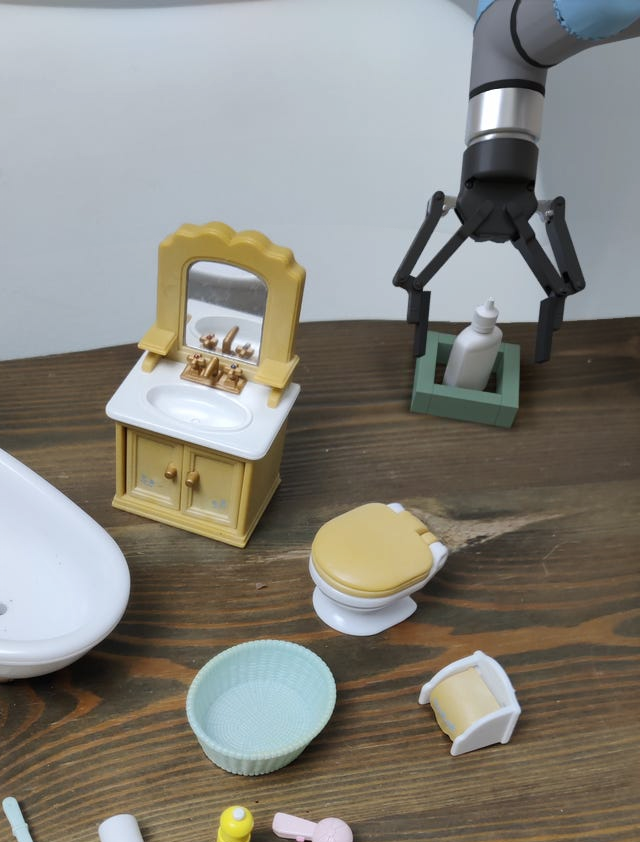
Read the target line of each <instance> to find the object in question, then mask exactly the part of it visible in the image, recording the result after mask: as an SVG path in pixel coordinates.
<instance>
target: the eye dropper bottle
mask: <svg viewBox="0 0 640 842" xmlns="http://www.w3.org/2000/svg"><path fill="white" fill-rule="evenodd" d="M499 314H500V312H499V309H498V308H497V307H495V298H493V297H492V296H489V297H487V299H486V301H485V303H484V304H480V305H478V306H476V308H475V309H474V313H473V317H472V320H471V323H470V325H468V326H467V327H465V328H464V329H463V330H462V331H461V332H460V333H458V335H457V338H456V339H455V342H454V344H453V348H452V351H451V354H450V357H449V361H448V364H447V365H446V368H445V371H444V375H443V379H442V381H441V385H445V386H452V387H458V388H464V389H470V390H477V391H483V392H484V390H485V389H486V388H487V385H488V383H489V380H490V377H491V374H492V372H491V371H492V368H493V365H494V362H495V359H496V356H497V353H498V350H499V347H500V344H501V342H502V340H503V334H504V333H503V331H502V329H501V328H499V327H498V326H497V325H496V324H497V320H498V317H499Z"/></svg>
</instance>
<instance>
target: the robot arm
mask: <svg viewBox="0 0 640 842" xmlns="http://www.w3.org/2000/svg"><path fill="white" fill-rule="evenodd" d="M472 37H473V38H472V53H471V63H470V75H469V89H468V105H467V114H466V122H465V130H464V145H465V147H466V149H465V150H464V151H463V153H462V162H461V174H460V184H459V192H458V194H457V196H455V195H447V194H445V192H444V191H442V190H437V191H435V192H434V193H433V194H432V195H431V196H430V198H429V199H428V201H427V205H426V211H425V217H424V220H423V222H422V223H421V225H420V227H419V229H418V231H417V233H416V235H415V237H414V239H413V240H412V243H411V244H410V246H409V248H408V250H407V252H406V254H405V255H404V257H403V259H402V261H401V263H400V264H399V266H398V268H397V270H396V272H395V273H394V275H393V277H392V280H391V283H392V285H393V286H394V287H395V288H400V289H402V290H404V291H406V293H407V295H408V298H407V307H406V308H407V310H406V322H407V325H415V326H414V337H413V349H412V358H413V359H417V358H420V357H422V356H424V355H425V354H426V343H427V332H428V331H429V319H430V307H431V298H432V290H424V288H425V287H426V286H427V284H428V283H429V282H430V281H431V280H432V278H433V277H435V276H436V274H437V273H438V272H439V270H441V268H442V267H443V266H444V265H445V264H446V263H447V262H448V261H449V259H451V257H452V256H453V255H454V254H455V253H456V252H457V250H459V248H460V247H461V246H462V245H463V244H464V243H465V241H466V240H467V239H468V238H470V239H471V240H473V241H474V243H485V242H492V243H494V244H505V243H507V242H509V241H510V243H511V245H512V246H513V248H514V249H516V250H517V251H518V252H519V254H520V256H521V257H522V258H523V260H524V262H525V263H526V265H527V267H528V268H529V269H530V271H531V272H532V274H533V276H534V277H535V279H536V281H537V282H538V284H539V285H540V287H541V288H542V290H543V291H544V293H545V294H546V296H547V297H546V298H544V299H541V300H540V301H539V311H538V321H537V328H536V338H535V348H534V357H533V364H540V365H542V364H545V363H547V362H550V360H551V354H552V353H551V352H552V344H553V336H554V335H553V334H554V332H557V331H559V330H561V328H562V326H563V323H564V314H565V306H566V300H567V298H568V297H569V296H573V295H575V294H578V293H580V292H582V291H584V290H585V289H586V286H587V282H586V280H585V276H584V274H583V271H582V270H583V269H582V267H581V264H580V261H579V258H578V254H577V252H576V249H575V248H576V247H575V245H574V242H573V240H572V236H571V233H570V230H569V227H568V224H567V220H566V199H565V197H564V196H562V195H559V196H558V195H557V196H556V197H555V198H554V199H539V200H538V198H537V196H536V192H535V191H536V185H537V184H536V182H537V175H538V166H539V165H538V163H539V155H540V153H539V152H540V148H539V146H538V145H537V143H539V142H540V140H541V138H542V137H541V136H542V128H543V127H542V126H543V116H544V115H543V114H544V105H545V104H544V103H545V98H546V86H547V85H546V84H547V76H548V71H549V69H550V68H553V67H556V66H557V65H559V64H561V63H562V62H564V61H566V60H567V59H568V60H569V59H570V58H572V57H574V56H576V55H577V54H579V53H582V52H584V51H586V50H589V49H591V48H594V47H597V46H603V45H608V44H611V43H616V42H622V41H626V40H629V39H635V38H639V37H640V0H478V4H477V9H476V18H475V23H474V24H473V29H472ZM450 210H453V211H454V214H455V215H456V217H457V219H458V220H459V222H460V224H461V226H460V227H459V228H458V229H457V230H456V231H455V232H454V234H452V236H450V238H449V240H448V241H447V242H446V243H445V244H444V245H443V246H442V247H441V249H440V250H439V251H438V252H437V253H436V254H435V255H434V257H433V258H432V259H431V260H430V261H428V263H427V264H426V265H425V266H424V268H423V269H422V270H421V271H420V272H419V273H418V274H417V276H414V275H411V274H412V272H413V270H414V268H415V267H416V265H417V263H418V261H419V259H420V257H421V256H422V253H423V252H424V250H425V248H426V246H427V244H428V243H429V241H430V239H431V237H432V235H433V233H434V231H435V230H436V228H437V226H438V224H439V222H440V220H441V219H443V218H445V217H446V216H447V215H448V214H449V212H450ZM535 214H537V215H538V216H539V220H540V222H541V223H543V224H544V226H545V232H546V235H547V238H548V241H549V245H550V248H551V251H552V254H553V257H554V260H555V262H556V263H555V264H556V266H557V269H556V266H555V265H554V264H553V262H552V261H551V259H550V258H549V256H548V254H547V253H546V252H545V250H544V248H543V247H542V245H541V244H540V242H539V241H538V239H537V237H536V232H535V230H534V229H533V227H532V225H531V224H530V222H529V221H530V219H532V217H533V216H534V215H535Z"/></svg>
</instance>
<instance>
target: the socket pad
mask: <svg viewBox="0 0 640 842" xmlns="http://www.w3.org/2000/svg"><path fill="white" fill-rule="evenodd" d="M457 336H458V335H457V334H450V333H444V332H438V331H433V330H428V332H427V343H426V354H425V355H424V356H422V357H420V358H416V362H415V369H414V379H413V387H412V394H411V401H410V402H411V403H410V410H409V411H410V412H411V413H418V414H423V415H428V416H429V415H430V416H436V417H442V418H449V419H454V420H460V421H466V422H471V423H478V424H483V425H484V424H485V425H490V426H497V427H503V428H508V429H510V428H512V426H513V423H514V420H515V418H516V415H517V413H518V410H519V404H520V373H521V372H520V367H521V345H520V344H516V343H508V342H502V341H501V344H500V347H499V350H498V353H497V356H496V359H495V362H494V365H493V368H492V371H491V373H496V377H495V378H496V379H495V393H494V392H489V391H484V390H483V391H477V390H470V389H464V388H458V387H452V386H445V385H442V384H438V383H435V376H436V366H437V365H436V364H441V365H446V366H447V364H448V361H449V357H450V354H451V351H452V348H453V344H454V342H455V339H456V338H457Z"/></svg>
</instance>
